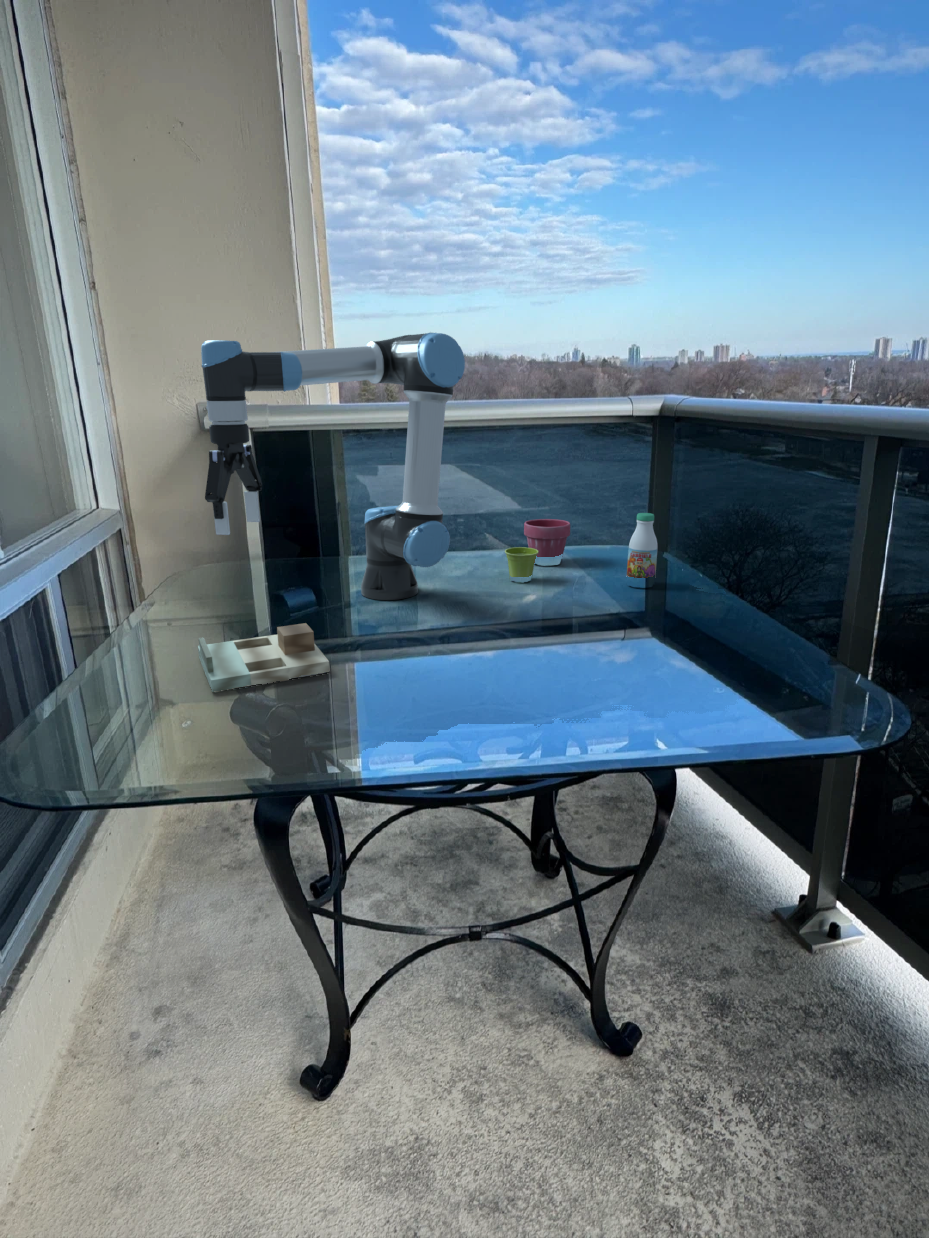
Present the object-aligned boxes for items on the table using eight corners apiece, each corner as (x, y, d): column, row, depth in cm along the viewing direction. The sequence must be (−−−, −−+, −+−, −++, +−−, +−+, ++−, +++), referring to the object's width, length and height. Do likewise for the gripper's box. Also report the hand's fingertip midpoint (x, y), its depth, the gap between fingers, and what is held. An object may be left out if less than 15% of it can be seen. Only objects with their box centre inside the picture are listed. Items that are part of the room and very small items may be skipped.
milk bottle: (625, 581, 208) (630, 511, 202) (652, 582, 207) (658, 511, 201) (626, 588, 201) (632, 516, 195) (655, 589, 200) (662, 516, 194)
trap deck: (304, 641, 161) (302, 617, 159) (329, 673, 144) (328, 646, 142) (199, 657, 152) (196, 631, 150) (212, 692, 135) (209, 664, 133)
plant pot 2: (522, 557, 235) (523, 518, 231) (566, 558, 235) (568, 518, 231) (524, 568, 222) (525, 526, 218) (571, 569, 221) (573, 527, 217)
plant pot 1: (538, 585, 204) (539, 554, 202) (504, 585, 204) (505, 554, 202) (536, 576, 213) (537, 547, 210) (503, 576, 213) (504, 547, 211)
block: (307, 641, 154) (306, 623, 152) (314, 650, 149) (313, 631, 147) (278, 645, 151) (276, 627, 150) (284, 655, 146) (283, 636, 145)
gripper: (239, 419, 159) (249, 516, 166) (177, 427, 136) (191, 539, 143) (272, 419, 158) (280, 517, 165) (214, 427, 135) (227, 541, 142)
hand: (239, 528), depth 154 cm, fingers open, 13 cm apart
